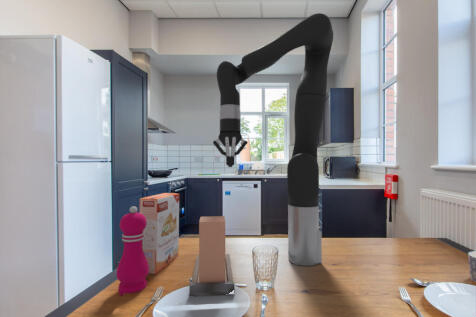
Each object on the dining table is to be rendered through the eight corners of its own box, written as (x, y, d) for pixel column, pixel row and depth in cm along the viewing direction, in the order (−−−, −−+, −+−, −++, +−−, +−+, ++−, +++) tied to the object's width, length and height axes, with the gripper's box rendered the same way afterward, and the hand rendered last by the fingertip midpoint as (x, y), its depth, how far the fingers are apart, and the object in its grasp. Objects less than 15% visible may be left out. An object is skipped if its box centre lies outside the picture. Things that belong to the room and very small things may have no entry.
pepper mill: (155, 285, 63) (155, 204, 64) (134, 300, 56) (135, 209, 57) (131, 280, 66) (132, 203, 66) (109, 294, 59) (109, 207, 59)
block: (224, 279, 65) (224, 216, 65) (225, 291, 59) (225, 221, 59) (200, 280, 64) (200, 216, 64) (199, 292, 58) (199, 222, 58)
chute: (229, 260, 79) (229, 250, 79) (234, 298, 57) (234, 283, 57) (196, 261, 78) (196, 251, 78) (189, 300, 56) (189, 285, 56)
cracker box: (157, 277, 68) (158, 198, 68) (137, 275, 69) (137, 198, 69) (180, 257, 81) (180, 192, 82) (162, 256, 83) (162, 192, 83)
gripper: (211, 117, 88) (211, 167, 87) (249, 117, 89) (249, 167, 88) (211, 120, 95) (212, 166, 95) (247, 120, 96) (247, 166, 96)
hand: (230, 166), depth 92 cm, fingers closed
